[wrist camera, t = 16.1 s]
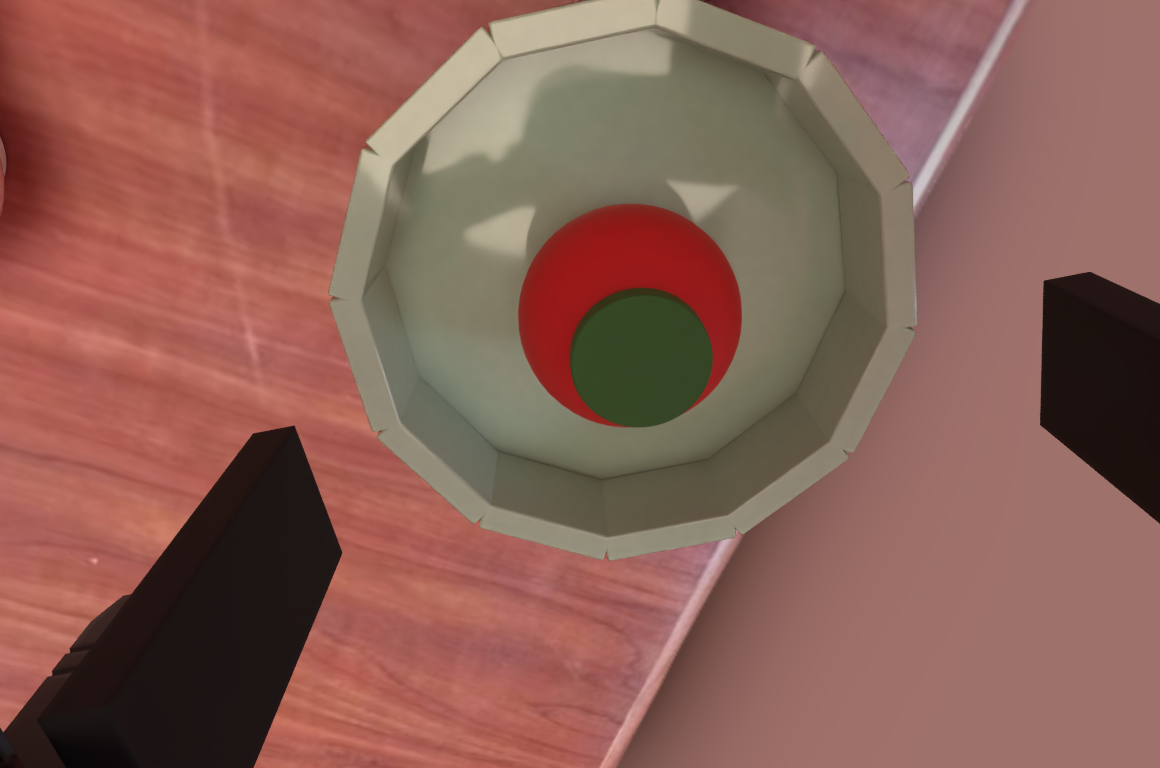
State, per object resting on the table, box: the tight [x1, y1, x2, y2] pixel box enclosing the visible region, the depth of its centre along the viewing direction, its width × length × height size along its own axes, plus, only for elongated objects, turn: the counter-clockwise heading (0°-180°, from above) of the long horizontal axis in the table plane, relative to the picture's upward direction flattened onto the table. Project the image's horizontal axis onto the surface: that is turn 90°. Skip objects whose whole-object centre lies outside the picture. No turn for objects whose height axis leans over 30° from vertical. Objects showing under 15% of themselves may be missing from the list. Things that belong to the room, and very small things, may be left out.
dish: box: [328, 0, 918, 561], centre depth 28 cm, size 14×14×17 cm
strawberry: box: [518, 204, 742, 428], centre depth 20 cm, size 5×5×6 cm
